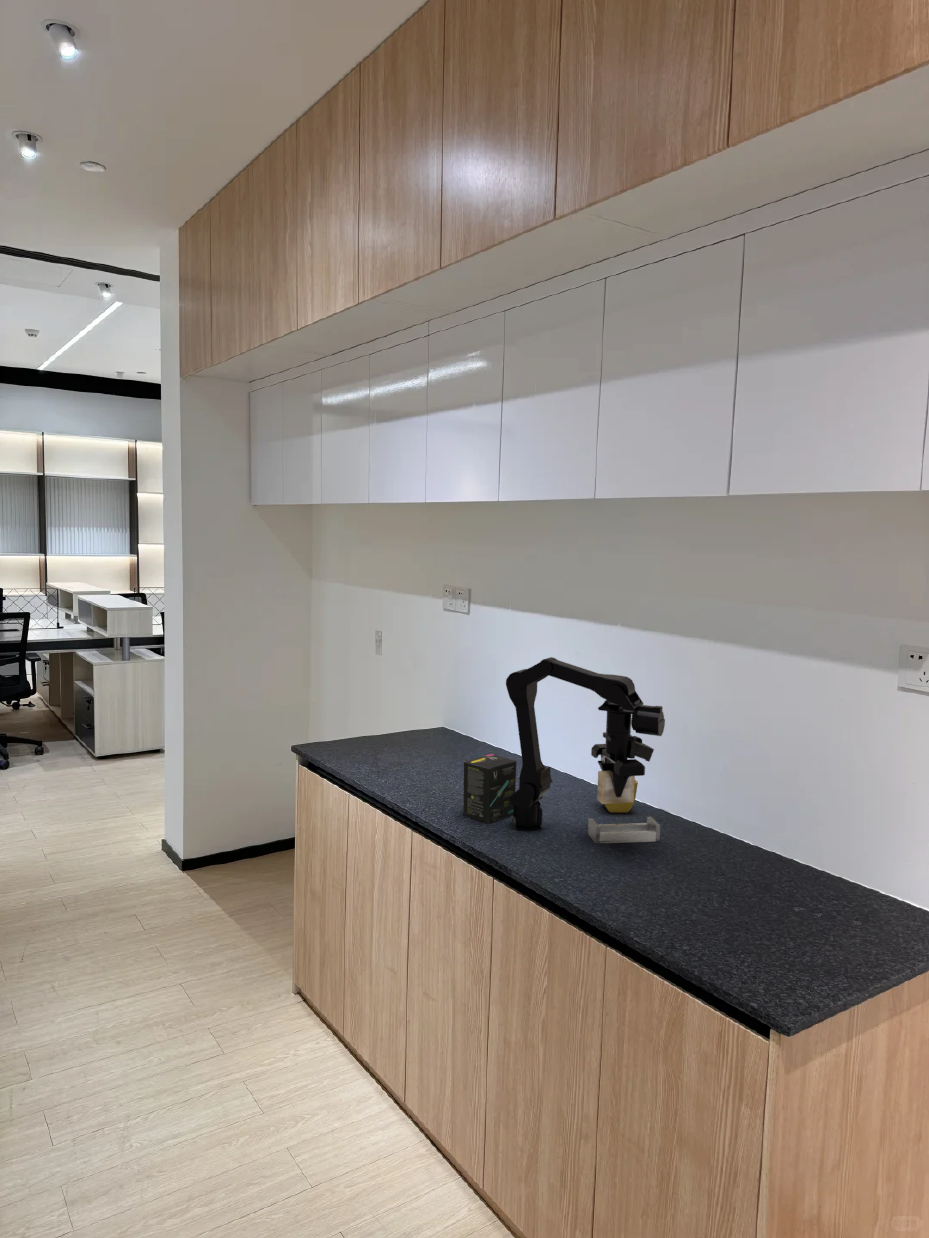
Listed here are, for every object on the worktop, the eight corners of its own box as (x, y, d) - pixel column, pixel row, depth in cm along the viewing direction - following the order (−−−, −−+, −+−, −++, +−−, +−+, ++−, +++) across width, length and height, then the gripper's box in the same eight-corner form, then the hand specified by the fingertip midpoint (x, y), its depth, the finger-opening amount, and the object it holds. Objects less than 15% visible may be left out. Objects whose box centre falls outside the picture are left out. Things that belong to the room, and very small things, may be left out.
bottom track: (595, 843, 198) (596, 827, 198) (588, 834, 205) (588, 818, 204) (659, 841, 201) (660, 825, 200) (650, 832, 207) (650, 816, 206)
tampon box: (489, 805, 224) (491, 752, 223) (515, 814, 218) (517, 759, 216) (461, 815, 216) (462, 760, 215) (487, 824, 210) (489, 767, 208)
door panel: (602, 803, 195) (603, 774, 194) (597, 799, 198) (598, 771, 197) (633, 802, 197) (635, 773, 196) (628, 798, 200) (629, 769, 199)
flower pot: (596, 804, 227) (598, 772, 226) (628, 804, 228) (629, 772, 227) (604, 815, 218) (605, 782, 217) (637, 815, 219) (638, 782, 218)
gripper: (667, 739, 188) (664, 805, 190) (633, 720, 206) (631, 781, 208) (621, 740, 186) (619, 808, 188) (591, 721, 204) (589, 783, 206)
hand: (615, 794), depth 197 cm, fingers closed on door panel, 3 cm apart
